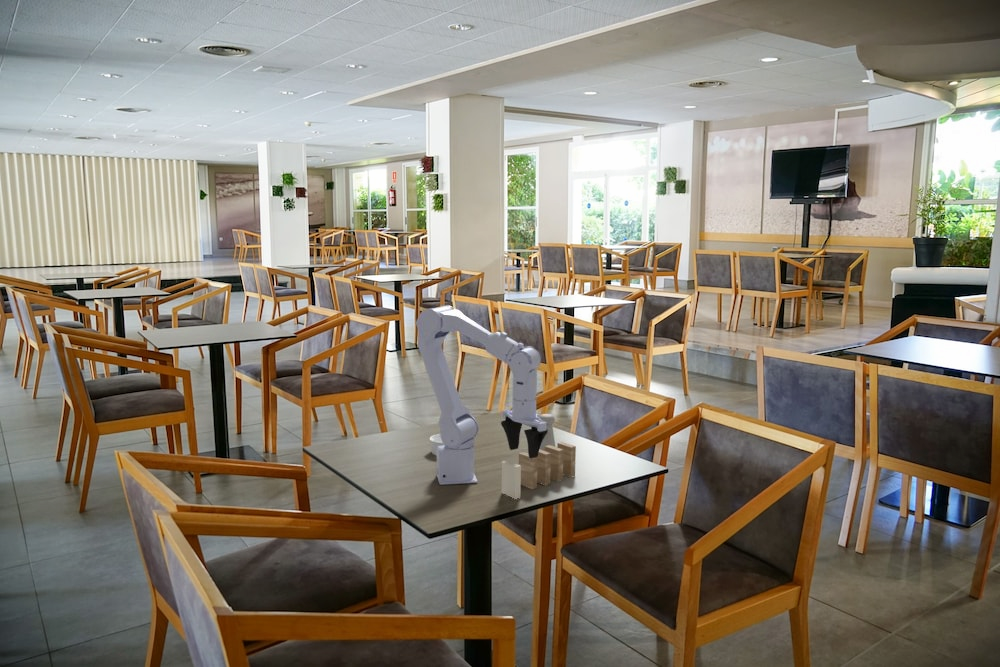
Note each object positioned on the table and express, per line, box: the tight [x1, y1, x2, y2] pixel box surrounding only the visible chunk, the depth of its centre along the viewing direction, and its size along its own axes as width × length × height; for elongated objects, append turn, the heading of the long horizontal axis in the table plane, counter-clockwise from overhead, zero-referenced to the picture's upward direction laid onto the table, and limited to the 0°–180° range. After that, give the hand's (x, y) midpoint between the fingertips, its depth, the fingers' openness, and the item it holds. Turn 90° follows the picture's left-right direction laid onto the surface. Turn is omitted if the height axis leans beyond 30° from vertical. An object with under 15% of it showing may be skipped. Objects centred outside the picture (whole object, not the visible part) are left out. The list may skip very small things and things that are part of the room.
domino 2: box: [537, 449, 551, 486], centre depth 193 cm, size 2×5×8 cm, turn 41°
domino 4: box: [557, 441, 577, 478], centre depth 199 cm, size 2×5×8 cm, turn 41°
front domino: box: [501, 460, 522, 500], centre depth 183 cm, size 2×5×8 cm, turn 41°
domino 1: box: [518, 451, 538, 490], centre depth 190 cm, size 2×5×8 cm, turn 41°
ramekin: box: [429, 433, 445, 457], centre depth 216 cm, size 9×9×4 cm
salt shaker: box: [539, 413, 556, 451], centre depth 209 cm, size 6×6×13 cm
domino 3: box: [545, 445, 564, 482], centre depth 196 cm, size 2×5×8 cm, turn 41°
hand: (523, 453), depth 186 cm, fingers open, 7 cm apart
